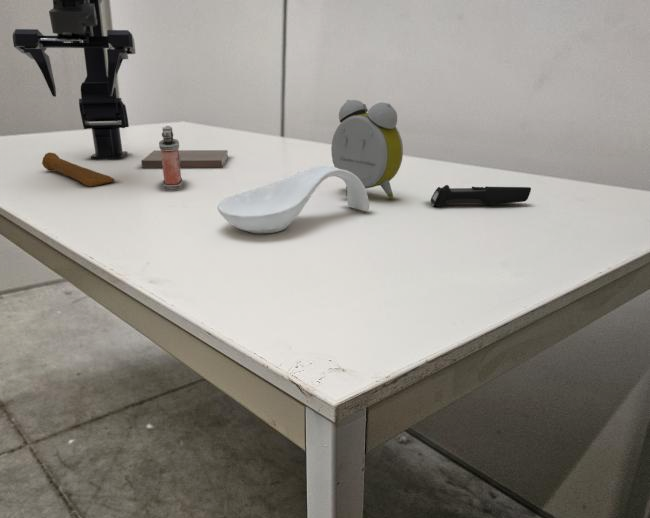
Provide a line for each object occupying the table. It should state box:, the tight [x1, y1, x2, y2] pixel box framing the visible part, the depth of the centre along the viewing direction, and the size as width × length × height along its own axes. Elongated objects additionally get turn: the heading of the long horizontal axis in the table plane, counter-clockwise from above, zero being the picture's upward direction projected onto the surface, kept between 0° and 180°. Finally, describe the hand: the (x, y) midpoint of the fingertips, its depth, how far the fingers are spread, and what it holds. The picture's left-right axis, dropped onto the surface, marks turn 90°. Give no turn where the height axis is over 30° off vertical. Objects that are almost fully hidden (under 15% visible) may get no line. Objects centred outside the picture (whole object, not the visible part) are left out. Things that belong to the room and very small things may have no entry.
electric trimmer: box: [430, 184, 532, 208], centre depth 98 cm, size 4×16×3 cm, turn 91°
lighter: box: [158, 125, 184, 192], centre depth 108 cm, size 8×3×10 cm, turn 11°
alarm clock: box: [330, 99, 404, 200], centre depth 100 cm, size 12×7×15 cm, turn 47°
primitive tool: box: [41, 152, 116, 187], centre depth 115 cm, size 19×6×4 cm, turn 51°
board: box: [141, 149, 229, 169], centre depth 129 cm, size 12×16×2 cm
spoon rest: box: [216, 165, 370, 234], centre depth 88 cm, size 24×12×7 cm, turn 127°
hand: (82, 96), depth 106 cm, fingers open, 9 cm apart
